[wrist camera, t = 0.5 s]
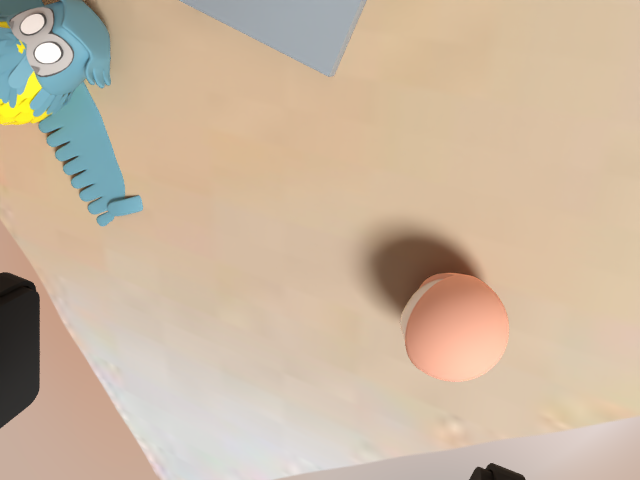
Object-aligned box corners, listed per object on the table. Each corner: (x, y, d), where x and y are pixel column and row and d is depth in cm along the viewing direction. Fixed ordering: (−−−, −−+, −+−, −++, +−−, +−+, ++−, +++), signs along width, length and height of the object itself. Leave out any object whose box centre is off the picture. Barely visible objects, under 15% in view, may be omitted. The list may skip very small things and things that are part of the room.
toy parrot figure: (-207, -78, 33) (-78, -214, 28) (-82, -50, 41) (37, -153, 36) (7, 272, 40) (145, 214, 34) (80, 238, 47) (201, 186, 42)
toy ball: (406, 253, 38) (394, 296, 31) (508, 258, 36) (520, 306, 29) (404, 339, 41) (393, 397, 34) (499, 349, 39) (509, 413, 32)
